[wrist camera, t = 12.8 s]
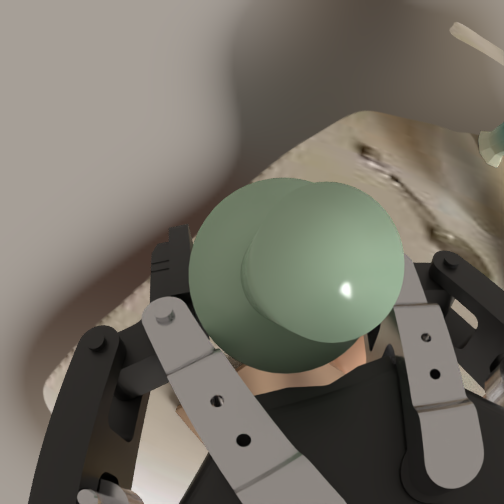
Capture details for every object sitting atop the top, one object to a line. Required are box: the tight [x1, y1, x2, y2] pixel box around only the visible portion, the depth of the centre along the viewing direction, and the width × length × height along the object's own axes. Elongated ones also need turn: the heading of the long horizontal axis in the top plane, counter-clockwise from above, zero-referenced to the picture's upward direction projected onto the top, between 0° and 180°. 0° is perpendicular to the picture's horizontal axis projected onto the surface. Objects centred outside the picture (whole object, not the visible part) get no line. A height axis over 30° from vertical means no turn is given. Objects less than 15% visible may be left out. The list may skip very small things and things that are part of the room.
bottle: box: [189, 178, 404, 374], centre depth 11 cm, size 5×5×14 cm
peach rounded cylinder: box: [329, 336, 366, 374], centre depth 26 cm, size 6×6×7 cm
